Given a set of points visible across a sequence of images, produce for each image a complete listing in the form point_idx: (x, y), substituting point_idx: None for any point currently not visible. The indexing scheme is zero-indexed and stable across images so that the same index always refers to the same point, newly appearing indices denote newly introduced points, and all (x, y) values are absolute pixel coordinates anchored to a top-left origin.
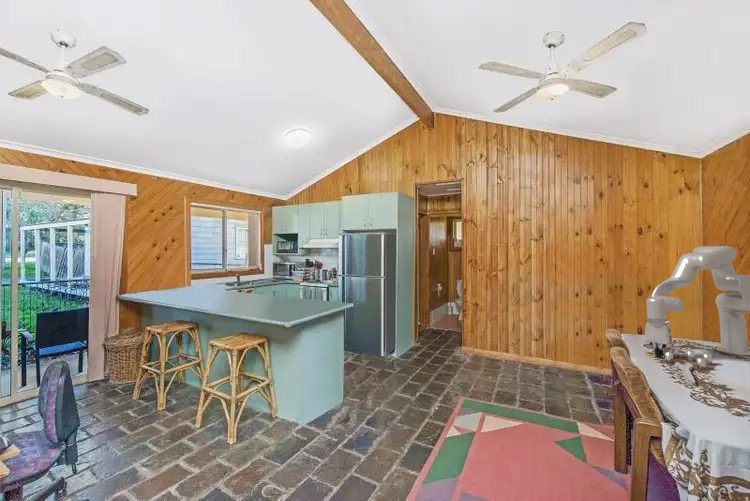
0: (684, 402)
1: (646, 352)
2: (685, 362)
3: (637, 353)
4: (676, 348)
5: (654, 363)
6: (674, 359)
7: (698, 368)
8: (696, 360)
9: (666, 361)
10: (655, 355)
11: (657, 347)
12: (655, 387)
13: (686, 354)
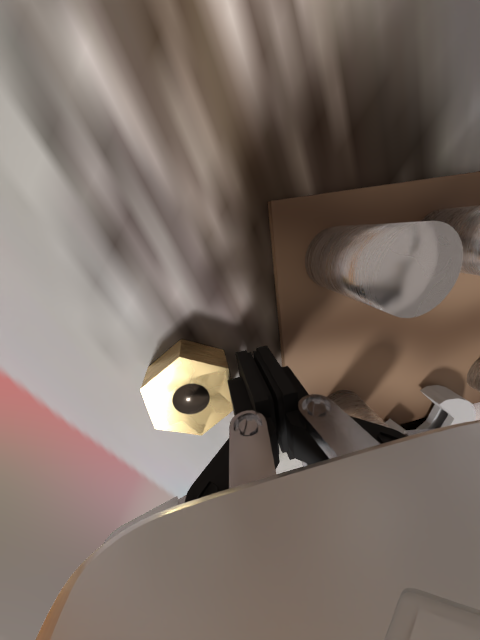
0: None
1: (153, 407)
2: (441, 404)
3: (58, 376)
4: (441, 258)
5: (278, 470)
6: (341, 312)
7: (478, 389)
8: (468, 181)
9: None
10: None
11: (278, 455)
12: None
13: (474, 262)
